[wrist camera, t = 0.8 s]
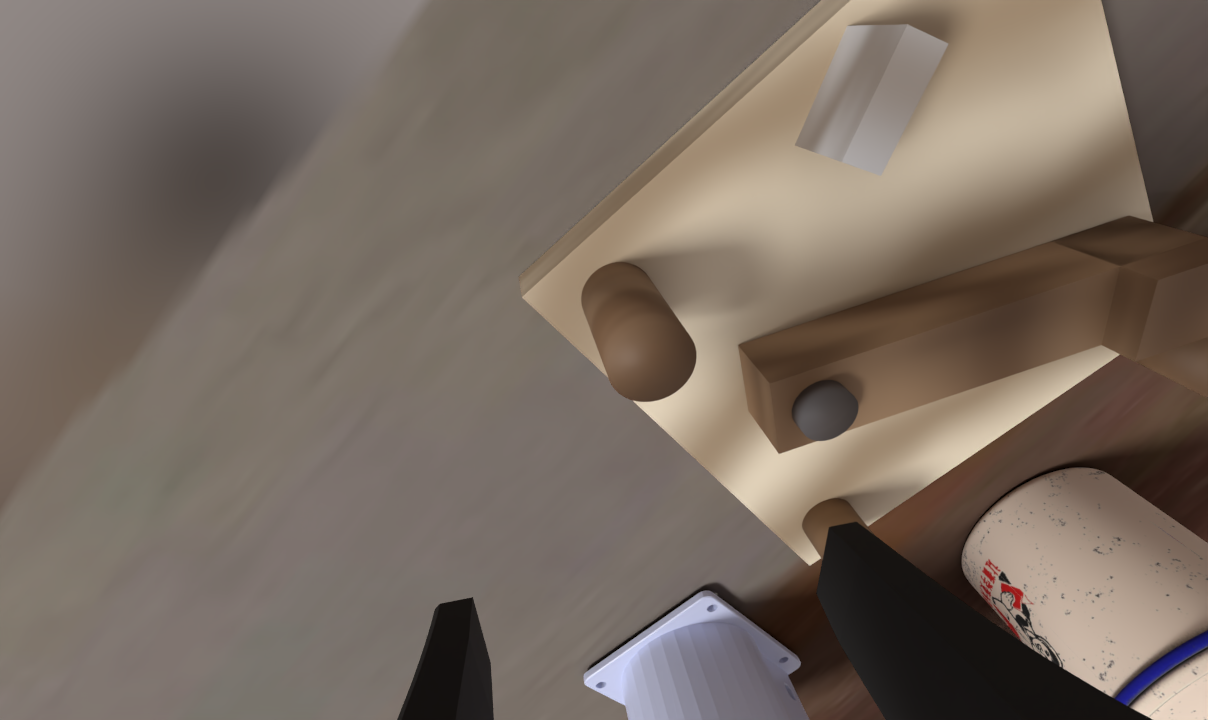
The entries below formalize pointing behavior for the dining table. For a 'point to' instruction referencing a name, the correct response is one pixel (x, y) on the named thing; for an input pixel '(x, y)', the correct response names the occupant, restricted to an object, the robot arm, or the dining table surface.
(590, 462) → the dining table surface
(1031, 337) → the folding leg
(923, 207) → the stool seat
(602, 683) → the robot arm
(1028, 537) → the teacup with lid
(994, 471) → the dining table surface
